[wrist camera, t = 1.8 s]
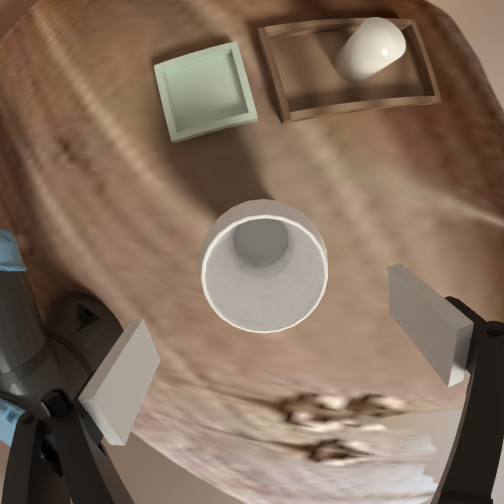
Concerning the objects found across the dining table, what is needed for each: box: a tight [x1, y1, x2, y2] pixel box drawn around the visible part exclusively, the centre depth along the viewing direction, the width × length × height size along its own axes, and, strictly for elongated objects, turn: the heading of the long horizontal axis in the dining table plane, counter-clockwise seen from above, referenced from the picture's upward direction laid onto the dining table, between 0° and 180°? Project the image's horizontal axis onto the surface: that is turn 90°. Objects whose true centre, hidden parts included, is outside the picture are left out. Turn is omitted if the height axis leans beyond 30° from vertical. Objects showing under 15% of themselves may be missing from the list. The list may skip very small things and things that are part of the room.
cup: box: [199, 199, 328, 333], centre depth 30 cm, size 11×11×15 cm
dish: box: [154, 41, 258, 143], centre depth 31 cm, size 10×10×2 cm
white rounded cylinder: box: [334, 17, 406, 83], centre depth 26 cm, size 5×5×10 cm
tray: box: [258, 18, 442, 124], centre depth 30 cm, size 21×12×3 cm, turn 104°
